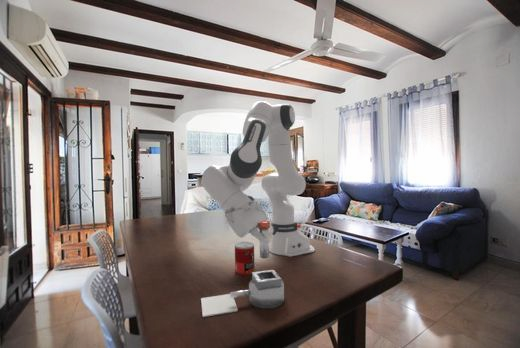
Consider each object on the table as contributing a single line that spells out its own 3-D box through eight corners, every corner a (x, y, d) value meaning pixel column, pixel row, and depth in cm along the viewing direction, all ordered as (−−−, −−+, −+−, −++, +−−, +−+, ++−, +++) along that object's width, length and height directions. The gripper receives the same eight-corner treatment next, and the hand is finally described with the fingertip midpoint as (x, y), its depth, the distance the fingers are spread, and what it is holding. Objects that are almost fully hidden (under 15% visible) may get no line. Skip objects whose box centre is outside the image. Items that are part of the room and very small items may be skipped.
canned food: (247, 277, 95) (247, 248, 95) (231, 272, 100) (230, 245, 99) (258, 270, 102) (257, 243, 102) (242, 266, 106) (242, 240, 106)
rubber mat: (232, 294, 82) (232, 293, 82) (237, 311, 73) (237, 309, 73) (201, 299, 80) (201, 298, 80) (202, 317, 70) (202, 315, 70)
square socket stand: (277, 288, 86) (276, 266, 86) (289, 305, 75) (289, 280, 75) (227, 296, 81) (227, 273, 81) (233, 315, 71) (233, 288, 71)
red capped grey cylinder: (268, 254, 81) (268, 220, 81) (272, 258, 78) (271, 222, 78) (257, 255, 80) (256, 221, 80) (260, 259, 77) (259, 223, 77)
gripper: (229, 204, 71) (262, 241, 68) (254, 196, 91) (281, 224, 88) (215, 218, 73) (247, 255, 70) (243, 208, 92) (269, 236, 89)
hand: (266, 238), depth 79 cm, fingers closed on red capped grey cylinder, 3 cm apart
